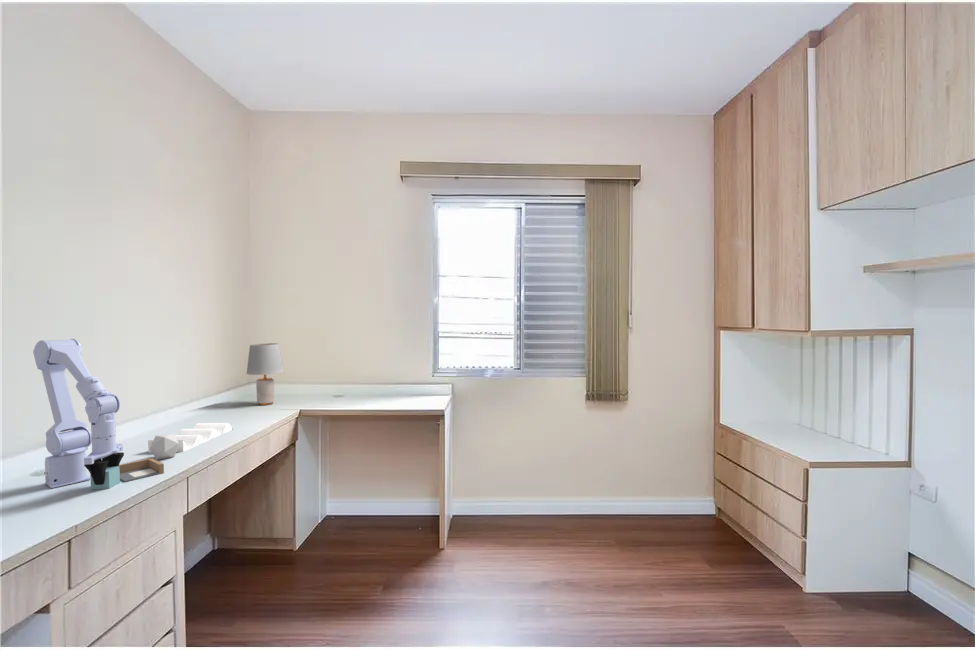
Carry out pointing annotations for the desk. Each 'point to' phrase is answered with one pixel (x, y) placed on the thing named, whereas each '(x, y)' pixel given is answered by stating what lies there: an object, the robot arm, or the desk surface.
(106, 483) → the cube
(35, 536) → the desk surface
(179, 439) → the file organizer
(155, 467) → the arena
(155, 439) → the die
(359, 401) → the desk surface
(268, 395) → the lamp
